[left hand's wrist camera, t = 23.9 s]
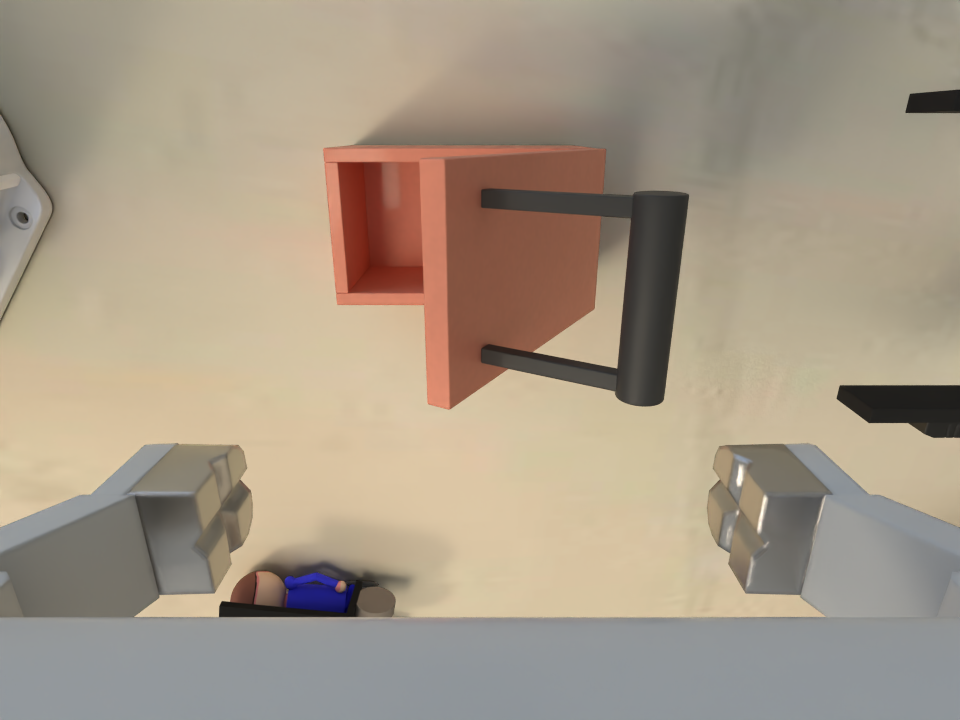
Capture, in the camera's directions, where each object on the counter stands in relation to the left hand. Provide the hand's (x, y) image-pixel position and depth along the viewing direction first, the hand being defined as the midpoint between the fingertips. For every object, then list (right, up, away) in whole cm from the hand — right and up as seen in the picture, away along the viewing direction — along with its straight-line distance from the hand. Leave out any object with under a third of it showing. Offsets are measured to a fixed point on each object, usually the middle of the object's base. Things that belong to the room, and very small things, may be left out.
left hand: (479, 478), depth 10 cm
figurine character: (-16, -20, +48) cm, 54 cm away
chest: (-1, +13, +35) cm, 37 cm away
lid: (+2, +7, +19) cm, 21 cm away
